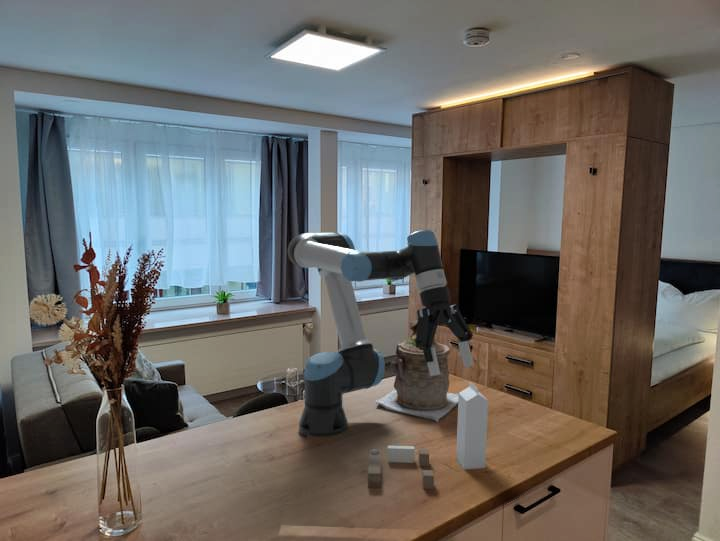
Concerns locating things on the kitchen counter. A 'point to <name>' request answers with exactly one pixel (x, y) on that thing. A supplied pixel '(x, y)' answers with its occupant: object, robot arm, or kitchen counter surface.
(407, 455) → the stool seat
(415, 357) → the cookie jar
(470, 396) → the milk
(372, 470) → the hinged leg
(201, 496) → the kitchen counter surface
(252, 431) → the kitchen counter surface
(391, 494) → the kitchen counter surface
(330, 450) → the kitchen counter surface
